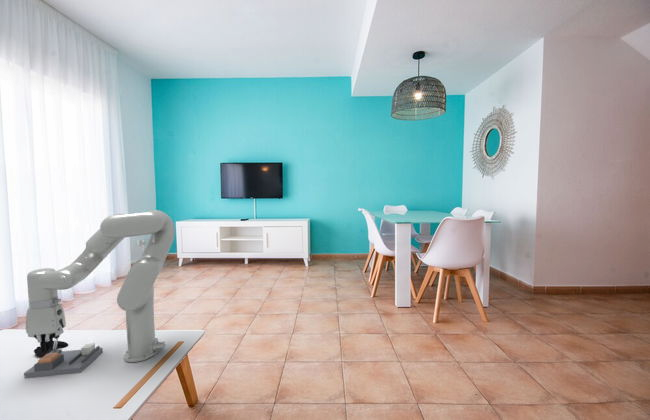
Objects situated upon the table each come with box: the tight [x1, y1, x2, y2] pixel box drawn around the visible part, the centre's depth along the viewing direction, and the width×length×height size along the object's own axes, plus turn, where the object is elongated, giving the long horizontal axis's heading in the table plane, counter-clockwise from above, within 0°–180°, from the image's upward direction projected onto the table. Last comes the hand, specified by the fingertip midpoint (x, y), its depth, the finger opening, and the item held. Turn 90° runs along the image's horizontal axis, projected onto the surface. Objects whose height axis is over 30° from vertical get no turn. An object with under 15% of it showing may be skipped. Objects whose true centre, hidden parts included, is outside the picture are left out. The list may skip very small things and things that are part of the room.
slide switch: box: [80, 343, 96, 355], centre depth 111 cm, size 3×3×3 cm
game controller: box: [33, 340, 69, 358], centre depth 116 cm, size 10×5×7 cm
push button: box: [37, 352, 59, 364], centre depth 103 cm, size 4×4×2 cm
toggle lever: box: [52, 335, 61, 351], centre depth 111 cm, size 2×2×6 cm
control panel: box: [23, 345, 104, 379], centre depth 107 cm, size 18×13×5 cm
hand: (47, 350), depth 103 cm, fingers closed
